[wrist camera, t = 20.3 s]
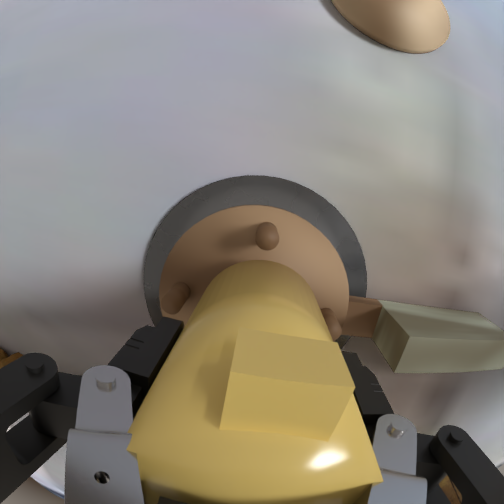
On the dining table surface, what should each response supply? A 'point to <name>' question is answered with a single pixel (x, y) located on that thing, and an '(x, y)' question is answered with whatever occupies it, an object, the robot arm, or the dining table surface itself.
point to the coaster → (399, 22)
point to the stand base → (254, 193)
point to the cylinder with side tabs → (254, 402)
